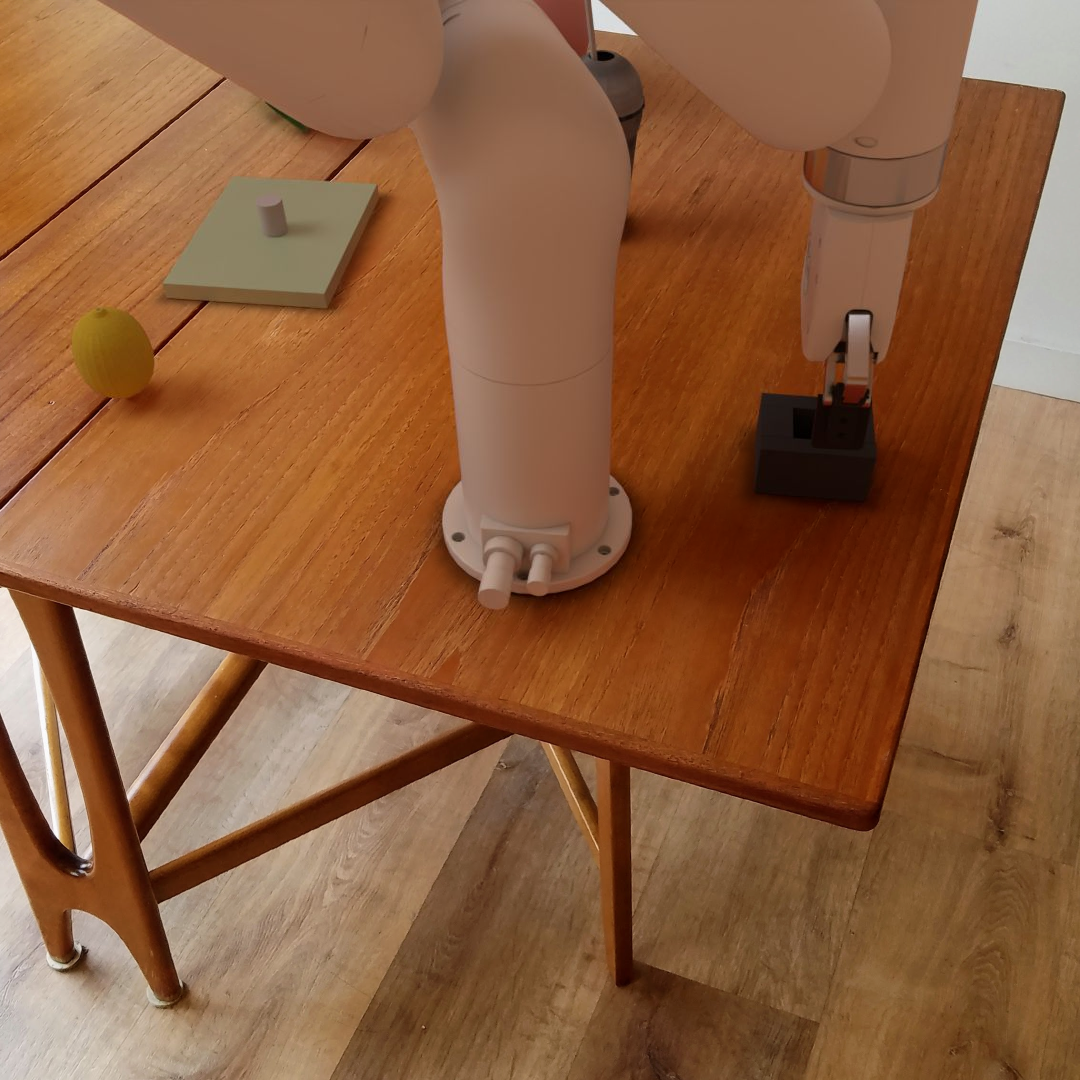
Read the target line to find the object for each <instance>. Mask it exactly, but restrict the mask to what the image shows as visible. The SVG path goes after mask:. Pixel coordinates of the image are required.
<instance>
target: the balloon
mask: <svg viewBox="0 0 1080 1080" xmlns="http://www.w3.org/2000/svg"><path fill="white" fill-rule="evenodd" d="M533 1H534V2H535V3H536V4H537V5H538V6H539V7H540V8H541V9H542V10H543V11H544V12H545V14H546V15H547V16H548V17H549V18H550V19H551V21H552V22H553V23H554V25H555V26H556V27H557V29H558V30H559V31H560V33H561V34H562V36H563V37H564V38H565V40H566V41H567V43H568V44H569V45H570V47H571V48H572V49H573V50H574V51H575V52H576V53H577V55H578V56H579V57H581V56H583V55H585V54H586V53H588V49H589V37H588V28H587V18H586V9H585V0H533Z"/></svg>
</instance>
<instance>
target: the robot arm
mask: <svg viewBox="0 0 1080 1080" xmlns="http://www.w3.org/2000/svg"><path fill="white" fill-rule="evenodd" d="M96 1H97V2H99V3H101V4H102V5H104V6H106V7H108V8H110V9H111V10H113V11H115V12H116V13H118V14H120V15H121V16H123V17H124V18H126V19H127V20H129V21H131V22H132V23H134V24H136V25H137V26H138V27H140V28H141V29H143V30H145V31H146V32H148V33H149V34H151V35H152V36H153V37H155V38H156V39H159V40H160V41H162V42H164V43H166V44H168V45H169V46H171V47H172V48H174V49H176V50H178V52H179V51H180V52H181V53H183V54H184V55H186V56H187V57H189V58H190V59H193V60H194V61H196V62H198V63H199V64H201V65H203V66H204V67H206V68H208V69H209V70H211V71H213V72H215V73H216V74H218V75H220V76H221V77H223V78H225V79H227V80H228V81H230V82H232V83H233V84H235V85H237V86H238V87H240V88H241V89H244V90H245V91H246V92H249V93H251V94H252V95H253V96H255V97H257V98H259V99H260V100H262V101H263V102H264V103H266V102H267V103H269V104H270V105H272V106H273V107H275V108H277V109H278V110H280V111H282V112H283V113H285V114H286V115H288V116H290V117H291V118H293V119H295V120H296V121H298V122H300V123H301V124H302V125H303V126H305V127H306V128H310V129H313V130H315V131H318V132H321V133H323V134H325V135H328V136H330V137H331V136H332V137H336V138H342V139H349V140H354V141H356V140H372V139H379V138H381V137H385V136H389V135H391V134H394V133H398V132H399V131H400V130H402V129H404V128H406V127H408V128H409V129H410V130H411V131H412V132H413V134H414V137H415V139H416V142H417V144H418V147H419V151H420V153H421V157H422V159H423V160H424V163H425V165H426V168H427V171H428V172H429V175H430V178H431V180H432V183H433V187H434V190H435V195H436V200H437V205H438V210H439V211H438V212H439V217H440V224H441V235H442V236H441V237H442V238H441V239H442V261H441V262H442V263H441V264H442V267H441V270H442V271H441V273H442V274H441V275H442V277H441V278H442V298H443V299H442V300H443V312H444V323H445V331H446V343H447V347H448V348H447V349H448V356H449V357H448V358H449V368H450V377H451V386H452V387H451V388H452V397H453V398H452V399H453V407H454V417H455V418H454V419H455V427H456V428H455V429H456V438H457V447H458V457H459V468H460V477H461V480H460V481H459V482H458V483H457V484H456V485H455V486H454V487H453V489H452V490H451V492H450V494H449V495H448V496H447V498H446V501H445V503H444V504H445V505H444V507H443V511H442V534H443V539H444V543H445V545H446V548H447V550H448V553H449V554H450V556H451V558H452V559H453V560H454V561H455V563H456V564H457V565H458V566H459V567H460V568H461V569H462V570H463V571H464V572H465V573H466V574H467V575H469V576H471V577H472V578H474V579H476V580H477V581H479V582H480V583H479V588H478V591H477V601H478V602H479V604H480V605H481V606H482V607H484V608H486V609H489V610H494V611H499V610H503V609H505V608H506V607H507V606H508V605H509V603H510V599H511V593H515V594H523V595H524V594H525V595H532V596H534V597H535V596H536V597H543V596H545V595H547V594H557V593H561V592H565V591H570V590H573V589H576V588H579V587H581V586H583V585H586V584H589V583H591V582H593V581H594V580H597V579H598V578H599V577H601V576H602V575H604V574H606V573H607V572H608V571H609V570H610V569H611V568H612V567H614V566H615V565H616V564H617V563H618V561H619V560H620V559H621V557H622V556H623V555H624V553H625V552H626V551H627V548H628V545H629V542H630V541H631V535H632V528H633V509H632V505H631V502H630V498H629V496H628V495H627V493H626V491H625V490H624V488H623V486H622V485H621V484H620V483H619V481H617V479H616V478H615V477H614V476H613V475H611V447H612V446H611V445H612V444H611V443H612V442H611V441H612V407H613V406H612V405H613V400H612V399H613V370H614V323H615V321H614V320H615V319H614V318H615V293H616V278H617V269H618V262H619V261H618V260H619V253H620V247H621V242H622V237H623V233H624V231H623V229H624V230H625V228H624V224H625V225H626V221H625V220H627V215H628V211H627V210H629V204H630V197H631V186H632V179H631V163H630V156H629V151H628V146H627V142H626V138H625V134H624V131H623V128H622V126H621V124H620V121H619V119H618V116H617V114H616V112H615V110H614V108H613V106H612V104H611V102H610V100H609V99H608V97H607V95H606V94H605V92H604V91H603V89H602V88H601V86H600V85H599V83H598V82H597V80H596V79H595V78H594V76H593V75H592V74H591V72H590V71H589V70H588V68H587V67H586V65H585V64H584V63H583V61H582V60H581V59H580V57H579V56H578V55H577V53H576V52H575V51H574V50H573V49H572V48H571V47H570V45H569V44H568V43H567V41H566V40H565V38H564V37H563V36H562V34H561V33H560V31H559V30H558V29H557V27H556V26H555V25H554V23H553V22H552V21H551V19H550V18H549V17H548V16H547V15H546V14H545V12H544V11H543V10H542V9H541V8H540V7H539V6H538V5H537V4H536V3H535V2H534V1H533V0H96ZM598 1H599V2H600V3H601V4H602V5H603V6H605V8H607V9H608V10H609V11H610V12H611V13H612V14H614V15H615V16H616V18H618V19H619V20H620V21H621V22H622V23H623V24H624V25H626V26H627V27H628V28H629V29H630V30H631V31H632V32H633V33H634V34H635V35H636V36H637V37H639V38H640V39H641V40H642V41H643V42H644V43H645V44H646V45H647V46H649V48H650V49H652V50H653V51H654V52H655V53H656V54H657V55H658V56H659V57H661V58H662V59H663V60H664V61H665V63H667V64H668V65H670V67H672V68H673V70H675V71H676V72H677V73H679V74H680V75H681V76H682V77H683V78H684V79H685V80H686V81H687V82H689V84H690V85H692V86H693V87H694V88H695V89H696V90H698V91H699V92H700V93H701V94H702V95H704V97H706V98H707V99H708V100H709V101H710V102H711V103H712V104H714V105H715V106H716V107H717V108H718V109H719V110H721V111H722V112H723V113H724V114H725V115H726V116H727V117H729V118H730V119H731V121H733V122H734V123H735V124H736V125H738V126H739V127H740V128H741V129H742V130H743V131H745V132H746V133H747V134H748V135H749V136H750V137H752V138H753V139H754V140H756V141H758V142H760V143H761V144H763V145H765V146H768V147H770V148H773V149H776V150H778V151H779V150H781V151H787V152H792V153H795V152H796V153H797V152H804V155H803V156H804V157H803V165H802V175H801V183H802V186H803V188H804V190H805V191H806V192H807V193H808V195H809V196H810V197H811V198H813V204H812V210H811V216H810V217H811V219H810V225H809V231H808V237H807V244H806V251H805V256H804V260H803V261H804V262H803V267H802V274H801V283H800V318H801V319H800V326H801V327H800V328H801V329H800V330H801V331H800V332H801V333H800V334H801V350H802V351H801V352H802V355H803V356H804V358H805V359H806V360H807V361H808V362H810V363H814V362H818V363H824V376H823V386H822V387H823V389H822V393H818V394H817V396H816V397H817V404H816V411H815V417H814V424H813V431H812V437H811V443H812V446H813V447H814V448H820V449H838V450H861V449H862V448H863V446H864V441H865V436H866V431H867V426H868V421H869V416H870V410H871V405H872V406H873V396H872V392H873V380H874V369H875V368H874V367H875V366H877V365H878V364H880V363H881V362H883V361H884V360H885V359H886V356H887V354H888V350H889V348H890V344H891V339H892V335H893V331H894V325H895V322H896V316H897V311H898V306H899V302H900V296H901V290H902V286H903V279H904V274H905V270H906V269H905V268H906V261H907V257H908V252H909V249H910V240H911V239H910V238H911V234H912V226H913V222H914V214H915V210H918V209H921V208H922V207H924V206H926V205H927V204H929V203H930V202H931V201H932V200H933V199H935V197H936V195H937V194H938V191H939V188H940V186H941V185H940V184H941V178H942V174H943V170H944V165H945V161H946V155H947V150H948V146H949V141H950V136H951V132H952V131H951V130H952V126H953V123H954V117H955V112H956V107H957V104H958V98H959V93H960V89H961V83H962V79H963V75H964V70H965V64H966V60H967V56H968V51H969V46H970V41H971V37H972V31H973V28H974V23H975V18H976V13H977V9H978V4H979V0H598ZM837 364H844V369H843V376H842V382H841V381H838V382H836V383H835V381H836V380H835V377H836V368H837V367H836V366H837Z"/></svg>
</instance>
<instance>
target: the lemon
mask: <svg viewBox="0 0 1080 1080" xmlns="http://www.w3.org/2000/svg"><path fill="white" fill-rule="evenodd" d="M71 350H72V357H73V362H74V365H75V367H76V369H77V371H78V373H79V375H80V377H81V378H82V380H83V382H84V383H85V385H87V386H88V387H89V388H90V389H91V390H93V391H94V392H95V393H97V394H99V395H101V396H104V397H106V398H110V399H116V400H117V399H126V400H127V399H128V400H129V399H131V398H133V397H134V396H135V395H137V394H139V393H140V392H142V391H143V390H144V389H145V388H146V387H147V385H149V383H150V381H151V379H152V377H153V375H154V371H155V352H154V349H153V345H152V343H151V340H150V338H149V336H148V334H147V332H146V330H145V329H144V327H143V326H142V324H141V323H140V322H139V321H138V320H137V319H136V318H135V316H133V315H132V314H130V313H129V312H127V311H125V310H123V309H120V308H116V307H110V306H109V307H108V306H102V307H101V306H97V307H95V308H93V309H91V310H89V311H87V312H86V313H85V314H83V315H82V316H81V317H80V318H79V320H78V321H77V322H76V323H75V325H74V327H73V332H72V334H71Z"/></svg>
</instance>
